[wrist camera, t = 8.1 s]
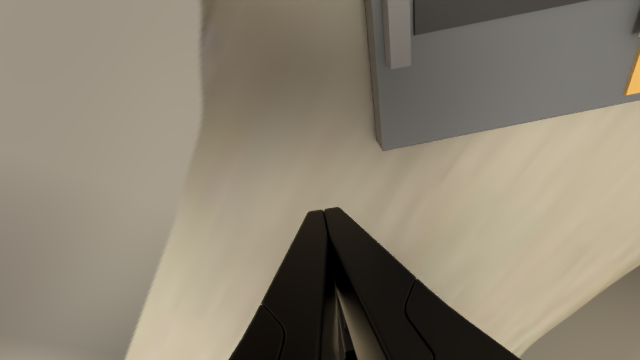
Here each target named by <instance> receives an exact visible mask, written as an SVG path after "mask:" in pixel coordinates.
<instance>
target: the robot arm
mask: <svg viewBox="0 0 640 360" xmlns="http://www.w3.org/2000/svg"><path fill="white" fill-rule="evenodd" d="M334 277H335V278H334ZM229 360H521V359H520V358H518V357H517V356H515V355H514V354H513V353H511V352H510V351H509V350H507V349H506V348H505V347H503V346H502V345H500V344H499V343H498V342H496V341H495V340H494V339H492V338H491V337H490V336H488V335H487V334H485V333H484V332H483V331H481V330H480V329H479V328H477V327H476V326H475V325H473V324H472V323H470V322H469V321H468V320H467V319H465V318H464V317H463V316H461V315H460V314H459V313H457V312H456V311H455V310H454V309H452V308H451V307H450V306H448V305H447V304H446V303H445V302H444V301H442V300H441V299H440V298H439V297H438V296H437V295H435V294H434V293H433V292H432V291H431V290H430V289H428V288H427V287H426V286H425V285H424V284H423V283H422V282H421V281H420V280H419V279H416V277H415V276H414V275H413V274H412V273H411V272H410V271H409V270H408V269H406V268H405V267H404V266H403V265H402V264H401V263H400V262H399V261H398V260H397V259H395V258H394V257H393V256H392V255H391V254H390V253H389V252H388V251H387V250H386V249H385V248H383V247H382V246H381V245H380V244H379V243H378V242H377V241H376V240H375V239H374V238H372V237H371V236H370V235H369V234H368V233H367V232H366V231H365V230H364V229H363V228H361V227H360V226H359V225H358V224H357V223H356V222H355V221H354V220H353V219H352V218H351V217H349V216H348V215H347V214H346V213H345V212H344V211H343V210H342V209H341V208H339V207H334V208H328V209H325V210H324V211H323V210H315V211H310V212H308V213H307V215H306V217H305V219H304V221H303V223H302V225H301V227H300V229H299V231H298V232H297V234H296V236H295V238H294V240H293V242H292V244H291V246H290V248H289V250H288V252H287V254H286V256H285V258H284V260H283V262H282V263H281V265H280V267H279V269H278V271H277V273H276V275H275V277H274V279H273V281H272V283H271V285H270V287H269V289H268V291H267V293H266V294H265V296H264V298H263V300H262V302H261V305H260V306H259V308H258V310H257V312H256V314H255V315H254V317H253V319H252V321H251V323H250V325H249V327H248V328H247V330H246V332H245V334H244V336H243V337H242V339H241V341H240V342H239V344H238V345H237V347H236V349H235V350H234V352H233V353H232V355H231V356H230V358H229Z"/></svg>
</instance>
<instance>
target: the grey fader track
mask: <svg viewBox="0 0 640 360" xmlns="http://www.w3.org/2000/svg"><path fill="white" fill-rule="evenodd" d="M365 9H366V21H367V32H368V44H369V56H370V67H371V79H372V91H373V103H374V114H375V126H376V138H377V142H378V144H379V145H380V147H381V149H382V151H386V150H391V149H396V148H401V147H406V146H411V145H416V144H421V143H426V142H431V141H437V140H442V139H447V138H452V137H457V136H462V135H467V134H472V133H477V132H482V131H487V130H492V129H497V128H502V127H507V126H512V125H517V124H522V123H527V122H532V121H537V120H542V119H547V118H552V117H557V116H562V115H567V114H573V113H578V112H583V111H588V110H593V109H598V108H603V107H608V106H613V105H618V104H623V103H628V102H633V101H638V100H640V37H638V36H639V33H640V0H365Z"/></svg>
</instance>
